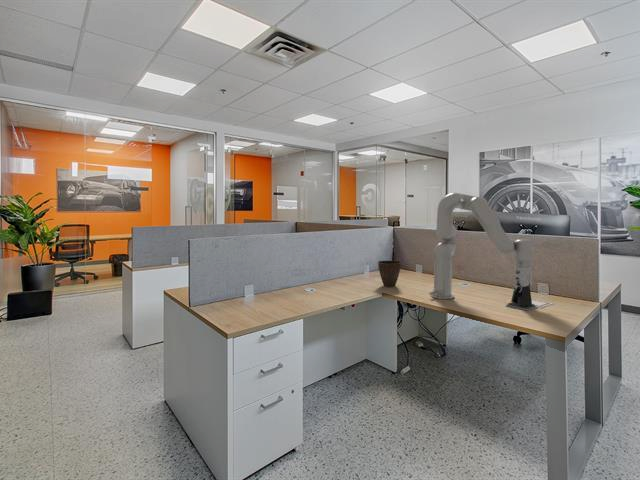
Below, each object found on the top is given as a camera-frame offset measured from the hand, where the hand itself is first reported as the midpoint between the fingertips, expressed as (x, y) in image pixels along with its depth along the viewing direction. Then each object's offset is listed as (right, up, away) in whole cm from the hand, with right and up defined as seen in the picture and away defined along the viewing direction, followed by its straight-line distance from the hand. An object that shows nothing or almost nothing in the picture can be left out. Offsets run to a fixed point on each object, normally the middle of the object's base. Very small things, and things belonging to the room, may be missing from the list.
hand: (521, 298), depth 170 cm
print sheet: (+10, -4, +8) cm, 13 cm away
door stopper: (0, -3, 0) cm, 3 cm away
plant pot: (-57, -1, +51) cm, 77 cm away
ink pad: (0, -5, 0) cm, 5 cm away
